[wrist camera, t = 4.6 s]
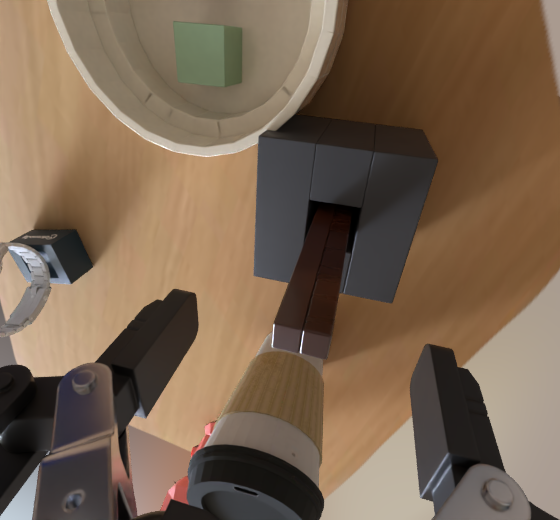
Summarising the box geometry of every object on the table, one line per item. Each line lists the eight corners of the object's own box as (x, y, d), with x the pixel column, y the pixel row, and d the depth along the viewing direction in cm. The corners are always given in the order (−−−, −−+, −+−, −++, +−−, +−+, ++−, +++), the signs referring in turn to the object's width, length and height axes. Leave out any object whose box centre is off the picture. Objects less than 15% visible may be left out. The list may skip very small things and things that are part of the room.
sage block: (242, 27, 21) (224, 25, 18) (242, 83, 22) (225, 87, 20) (196, 23, 21) (172, 21, 19) (199, 78, 23) (177, 82, 20)
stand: (423, 129, 22) (439, 159, 16) (389, 248, 27) (392, 304, 21) (288, 113, 23) (258, 135, 17) (279, 228, 28) (253, 276, 22)
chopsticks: (357, 179, 24) (332, 336, 11) (354, 195, 25) (326, 361, 12) (329, 175, 25) (273, 322, 12) (327, 191, 25) (270, 347, 12)
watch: (67, 210, 32) (-54, 274, 23) (99, 281, 37) (7, 358, 27) (22, 212, 34) (-108, 272, 25) (58, 279, 38) (-43, 352, 29)
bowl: (376, -191, 16) (375, -289, 11) (327, 149, 24) (315, 173, 19) (83, -182, 18) (-16, -259, 13) (131, 122, 26) (79, 138, 22)
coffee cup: (246, 372, 38) (184, 526, 26) (247, 304, 33) (168, 457, 21) (334, 393, 37) (311, 568, 24) (349, 325, 31) (330, 506, 19)
